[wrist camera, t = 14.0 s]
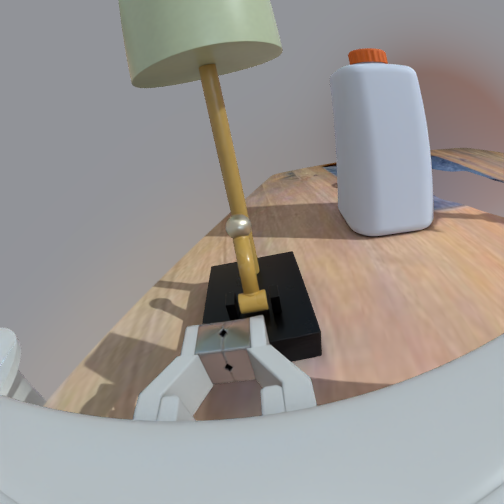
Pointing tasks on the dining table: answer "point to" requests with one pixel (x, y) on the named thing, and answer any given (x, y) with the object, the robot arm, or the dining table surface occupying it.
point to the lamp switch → (246, 265)
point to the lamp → (223, 137)
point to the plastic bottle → (381, 146)
